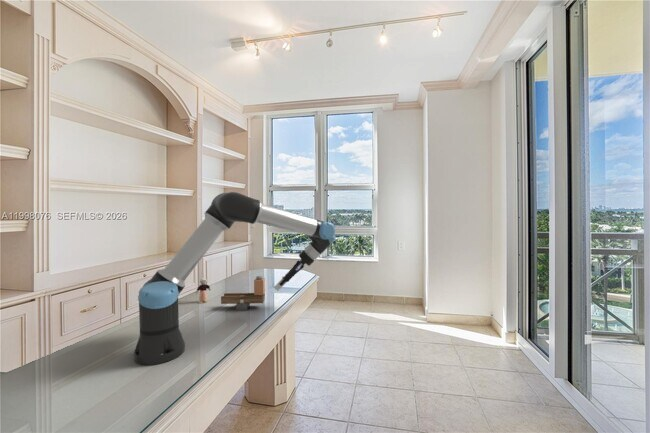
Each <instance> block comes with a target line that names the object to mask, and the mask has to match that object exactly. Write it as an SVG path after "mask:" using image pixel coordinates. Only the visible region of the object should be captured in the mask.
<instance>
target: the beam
mask: <svg viewBox="0 0 650 433" xmlns="http://www.w3.org/2000/svg"><path fill="white" fill-rule="evenodd" d="M265 295H266V292H265V293H264V295H254V292H225V293H223V295H221V296H220V304H221V305H231V304H232V305H233V304H236V311H248V310H249V308H250V306H251V304H263V303H264V302H265V300H266V296H265Z"/></svg>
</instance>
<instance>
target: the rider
mask: <svg viewBox="0 0 650 433" xmlns="http://www.w3.org/2000/svg"><path fill="white" fill-rule="evenodd" d="M265 283H266V279H265V278H263V276H262V275H259V276H258V275H257V276H256V277H255V279H254V280H253V293H254V295H264V293H265V294H266V284H265Z"/></svg>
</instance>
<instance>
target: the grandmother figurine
mask: <svg viewBox="0 0 650 433" xmlns="http://www.w3.org/2000/svg"><path fill="white" fill-rule="evenodd" d="M207 281H208V280H207V279H206V278H204V277H202V278H200V280H199V282H200V285H199V286H198V287H197V288H196V291H195V294H198V293H199V297H198V298H199V299H198V304H203V303H208V300H207V299H208V291H211V290H212V289H211V286H210V285H208V284H207Z"/></svg>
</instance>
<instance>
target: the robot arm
mask: <svg viewBox="0 0 650 433" xmlns="http://www.w3.org/2000/svg"><path fill="white" fill-rule="evenodd" d="M236 222H237V223H238V222H239V223H248V224H252V225H254V224H256V223H259V224H263V225H267V226H269V227H274V228H278V229H283V230H286V231H291V232H294V233H299V234H302V235H305V236H306V238H308V239H309V240H310V241H311V242H310V243H309V244H308V245H307V246H306V247H305V248H304V250H302V251H301V252H300V253H299V255H298V257H299V258H300V260H297V261H296V263H295V264H294V265H293V266H292V268H291V269H290V270H289V271H288V272H287V273H285V275H284V276H282V277H281V279H279V281H278V282H277V283H276V284H275V285H274V286H273V288H274V289H275V291H277V292H279V291H280V290H281V289H282V287H284V286H285V285H286V284H287V283H288V282H290V280H291V279H292V278H293V277H294V276H295V275H296V274H297V273H299V272H300V271H301V270H302V269H303V268H304V267H305V265H307V266H311V265H312V264H313V263H314V262H315V260H317V259H318V258H321V255H322V254H323V253H324V252H325V251H326V250H327V249H328V247H331V245H332V244H333V243H334V242H335V240H336V236H335V234H336V232H335V231H336V228H335V225H334V223H332V222H328V221H323V220H319V219H315V218H313V217H310V216H309V215H303V214H299V213H296V212H292V211H288V210H285V209H281V208H277V207H274V206H271V205H268V204H264V203H262V202H261V200H259V199H256V198H253V197H250V196H247V195H245V194H242V193H239V192H238V191H237V192H236V191H229V192H222V193H219V194H218V195H216V196H215V197H214V198H213V200H212V202H211V205H209V207H208V208H207V209H206V210H205V212H204V219H203V220H202V222H201V223H200V224H199V226H197V228H196V229H195V230H194V232H192V234H191V235H190V236H189V238H188V239H187V240H186V241H185V243H184V244H183V245H182V246H181V248H180V249H179V250H178V251H177V253H176V254H175V255H174V256H173V258H172V259H170V261H169V263H168V264H167V265H166V266H165V268H162V269H158V270H157V271H156V272H155V274H154V275H152V277H151V278H150V279H149V280H147V281H146V282H145V283H144V284H143V286H142V287H140V289H139V291H138V296H137V300H138V308H139V309H138V312H139V314H138V316H139V318H138V319H139V321H138V322H139V336H138V340H137V343H136V346H135V349H134V351H133V360H134V362H135V363H136V364H138V365H142V366H143V365H144V366H145V365H146V366H153V365H159V364H163V363H164V364H165V363H167V362H169V361H172V360H174V359H177V358H179V357H180V356H181V355H182V354H184V352H185V350H186V343H185V340H184V337H183V334H182V333H181V329H180V320H179V319H180V318H179V317H180V316H179V314H180V313H179V296H180V294H181V292H183V290H184V289H185V287H186V284H185V281H186V280H187V278H188V277H189V276H190V275H191V272H192V271H193V270H195V268H196V266H197V265H198V264H199V263H200V261H201V260H202V259H203V257H205V255H206V253H207V252H208V251H209V249H210V248H212V246H213V244H214V243H215V242H216V241H217V239H218V238H219V237H220V235H221V234H222V233H223V232H224V231H229V230H230V228H232V226H234V225H233V224H235V223H236Z"/></svg>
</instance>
